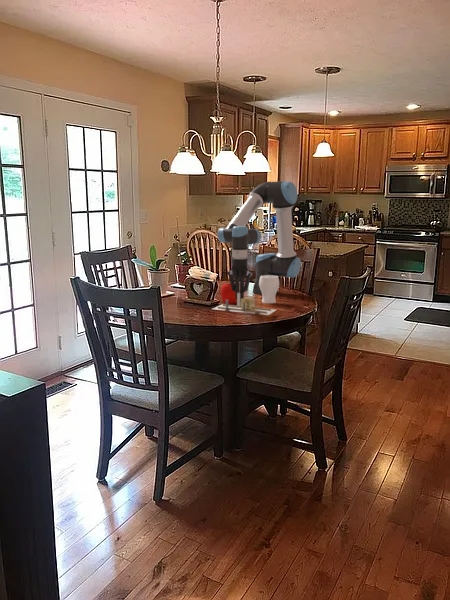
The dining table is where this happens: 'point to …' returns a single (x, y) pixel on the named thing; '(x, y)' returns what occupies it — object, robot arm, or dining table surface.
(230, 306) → the board
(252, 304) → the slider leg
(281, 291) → the dining table surface
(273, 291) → the cup
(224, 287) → the apple
